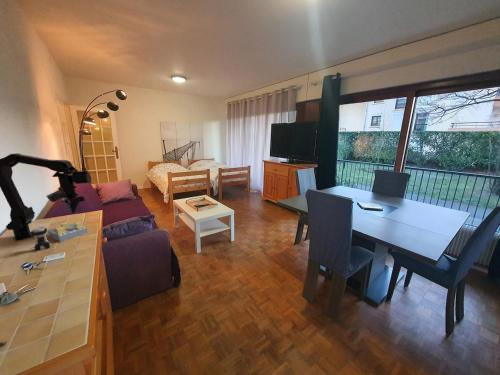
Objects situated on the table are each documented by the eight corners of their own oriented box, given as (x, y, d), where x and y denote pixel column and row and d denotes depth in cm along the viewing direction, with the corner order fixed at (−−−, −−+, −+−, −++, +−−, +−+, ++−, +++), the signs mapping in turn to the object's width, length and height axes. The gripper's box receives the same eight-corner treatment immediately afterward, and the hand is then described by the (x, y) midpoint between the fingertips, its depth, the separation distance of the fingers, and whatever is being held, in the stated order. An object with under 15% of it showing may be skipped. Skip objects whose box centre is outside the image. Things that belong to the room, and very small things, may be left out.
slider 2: (61, 228, 111) (60, 223, 110) (68, 226, 113) (67, 221, 113) (63, 229, 110) (62, 224, 109) (70, 227, 112) (68, 222, 111)
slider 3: (75, 228, 112) (74, 223, 111) (81, 226, 114) (80, 221, 113) (77, 229, 110) (76, 223, 110) (83, 227, 113) (82, 222, 112)
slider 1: (56, 234, 105) (55, 228, 104) (63, 231, 107) (62, 226, 106) (58, 235, 103) (57, 229, 103) (65, 232, 106) (64, 227, 105)
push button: (29, 253, 93) (24, 232, 90) (32, 248, 97) (27, 228, 95) (50, 249, 96) (45, 229, 94) (52, 244, 101) (47, 225, 98)
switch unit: (49, 236, 110) (47, 230, 109) (75, 228, 120) (74, 222, 119) (60, 242, 103) (58, 235, 102) (87, 233, 113) (86, 227, 112)
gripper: (39, 185, 107) (46, 214, 111) (54, 189, 98) (61, 221, 102) (66, 182, 117) (72, 208, 120) (82, 185, 107) (88, 214, 111)
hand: (73, 213), depth 113 cm, fingers closed
